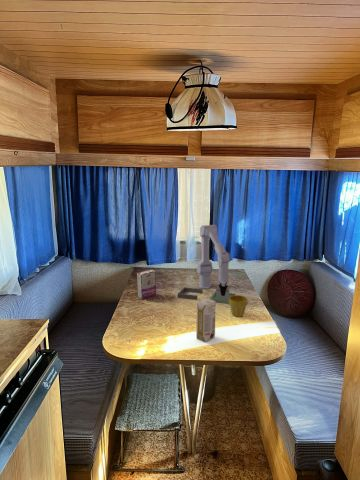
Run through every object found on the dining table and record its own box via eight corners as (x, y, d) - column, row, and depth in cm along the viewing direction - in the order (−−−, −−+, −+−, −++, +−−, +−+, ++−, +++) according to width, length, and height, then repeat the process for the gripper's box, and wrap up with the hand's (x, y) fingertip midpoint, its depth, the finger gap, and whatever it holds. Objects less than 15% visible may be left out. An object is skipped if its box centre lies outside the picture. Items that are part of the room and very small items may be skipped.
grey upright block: (216, 296, 232) (216, 287, 230) (228, 297, 231) (229, 288, 229) (215, 299, 227) (216, 290, 226) (228, 299, 226) (229, 290, 225)
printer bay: (184, 290, 244) (184, 287, 243) (202, 292, 240) (202, 289, 239) (177, 297, 232) (177, 293, 231) (197, 299, 228) (197, 296, 227)
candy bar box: (151, 293, 239) (151, 269, 236) (156, 295, 235) (156, 270, 232) (137, 297, 232) (136, 272, 229) (141, 299, 228) (141, 274, 225)
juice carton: (217, 337, 179) (217, 300, 175) (206, 343, 172) (206, 305, 168) (204, 332, 184) (205, 296, 180) (193, 338, 177) (194, 301, 173)
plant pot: (245, 319, 199) (246, 302, 197) (226, 317, 202) (227, 300, 200) (248, 312, 209) (249, 296, 207) (230, 310, 212) (230, 294, 210)
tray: (214, 294, 237) (214, 291, 237) (235, 296, 233) (235, 293, 233) (209, 301, 225) (209, 298, 224) (231, 304, 221) (231, 301, 220)
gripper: (217, 269, 233) (216, 289, 236) (216, 275, 219) (216, 297, 222) (228, 269, 232) (227, 289, 235) (228, 276, 218) (228, 297, 221)
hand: (223, 293), depth 228 cm, fingers open, 7 cm apart
